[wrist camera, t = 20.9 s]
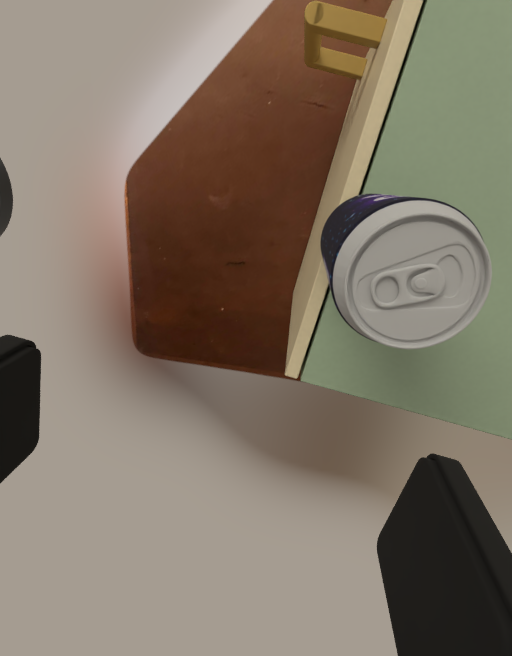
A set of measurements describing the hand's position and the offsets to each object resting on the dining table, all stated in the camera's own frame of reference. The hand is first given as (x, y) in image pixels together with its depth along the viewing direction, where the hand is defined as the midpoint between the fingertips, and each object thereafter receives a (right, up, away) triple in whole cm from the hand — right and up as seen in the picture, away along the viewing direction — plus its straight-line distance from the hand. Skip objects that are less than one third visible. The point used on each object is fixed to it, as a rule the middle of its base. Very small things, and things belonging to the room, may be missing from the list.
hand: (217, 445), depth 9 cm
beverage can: (+8, +9, +15) cm, 19 cm away
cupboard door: (+7, +20, +37) cm, 43 cm away
